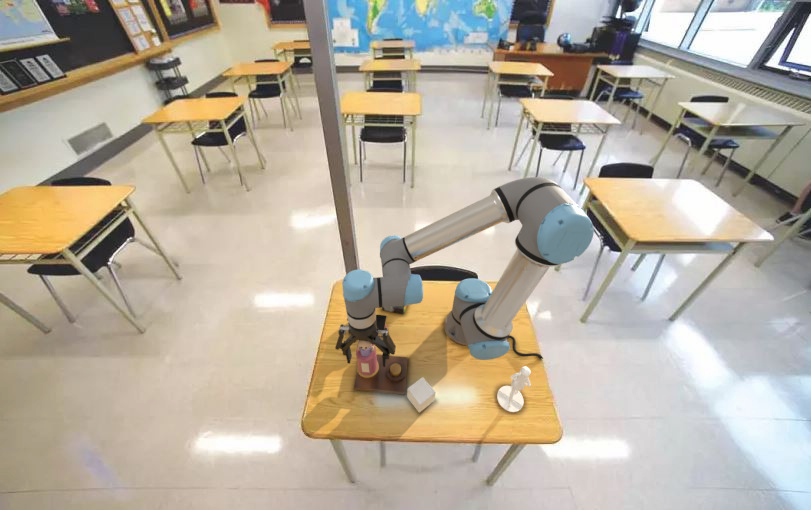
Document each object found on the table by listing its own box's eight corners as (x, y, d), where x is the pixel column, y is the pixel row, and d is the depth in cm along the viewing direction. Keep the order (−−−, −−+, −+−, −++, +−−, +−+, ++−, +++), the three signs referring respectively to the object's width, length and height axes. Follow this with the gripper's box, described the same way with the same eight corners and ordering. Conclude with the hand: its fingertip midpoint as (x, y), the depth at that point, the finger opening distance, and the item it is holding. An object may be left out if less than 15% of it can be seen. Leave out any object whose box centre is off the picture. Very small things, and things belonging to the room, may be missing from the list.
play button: (401, 366, 103) (401, 363, 102) (400, 377, 101) (400, 374, 99) (390, 365, 103) (390, 362, 102) (389, 376, 101) (389, 373, 100)
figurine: (522, 389, 101) (539, 360, 89) (523, 415, 96) (542, 387, 84) (497, 384, 103) (510, 354, 91) (496, 408, 97) (511, 380, 85)
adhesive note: (407, 397, 99) (407, 388, 95) (421, 385, 102) (422, 376, 98) (419, 413, 96) (420, 404, 92) (434, 400, 98) (435, 392, 94)
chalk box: (409, 297, 129) (410, 271, 119) (404, 315, 122) (404, 289, 112) (387, 293, 131) (386, 267, 121) (381, 310, 124) (379, 284, 114)
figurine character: (346, 339, 116) (386, 341, 113) (341, 327, 111) (383, 328, 108) (350, 324, 121) (389, 325, 118) (346, 311, 116) (386, 312, 113)
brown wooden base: (407, 360, 108) (408, 354, 106) (404, 395, 99) (404, 390, 97) (361, 355, 109) (360, 350, 107) (354, 390, 100) (353, 385, 98)
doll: (359, 356, 105) (354, 326, 94) (380, 358, 104) (378, 328, 93) (355, 376, 100) (349, 347, 88) (377, 378, 99) (374, 349, 88)
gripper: (406, 310, 87) (404, 353, 101) (323, 303, 88) (334, 347, 103) (403, 333, 81) (402, 375, 96) (315, 326, 82) (328, 368, 97)
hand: (367, 361), depth 99 cm, fingers open, 10 cm apart
